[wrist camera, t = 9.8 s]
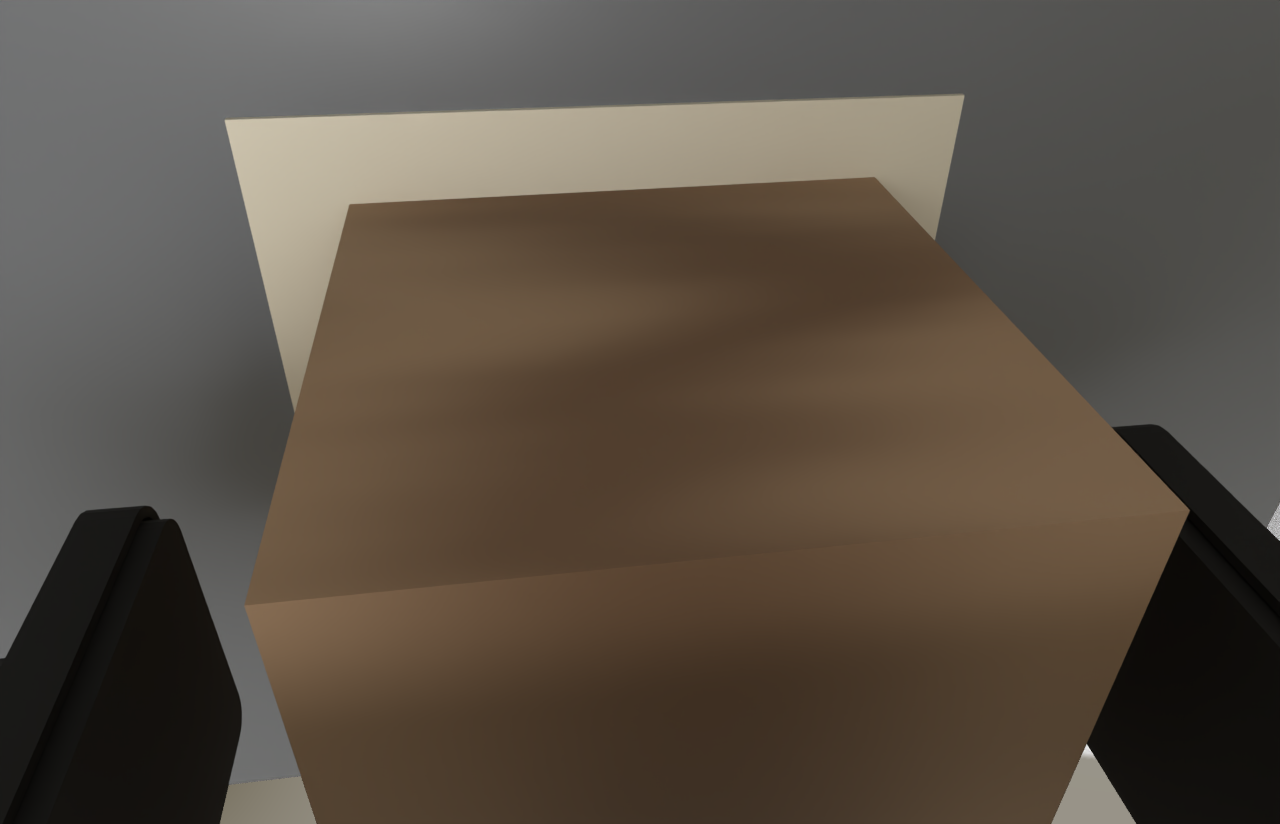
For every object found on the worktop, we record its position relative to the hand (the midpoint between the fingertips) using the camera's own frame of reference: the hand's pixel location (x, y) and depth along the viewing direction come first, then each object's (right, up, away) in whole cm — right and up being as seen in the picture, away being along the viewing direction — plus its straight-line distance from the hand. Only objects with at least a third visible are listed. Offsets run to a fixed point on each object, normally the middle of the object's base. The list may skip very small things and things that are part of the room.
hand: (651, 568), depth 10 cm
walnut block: (0, +2, +2) cm, 3 cm away
